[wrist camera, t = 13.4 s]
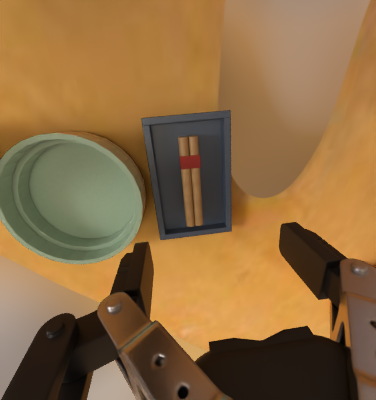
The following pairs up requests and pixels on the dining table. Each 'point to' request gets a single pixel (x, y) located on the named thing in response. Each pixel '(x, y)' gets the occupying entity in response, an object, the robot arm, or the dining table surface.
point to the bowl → (71, 196)
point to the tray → (171, 171)
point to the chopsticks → (191, 179)
